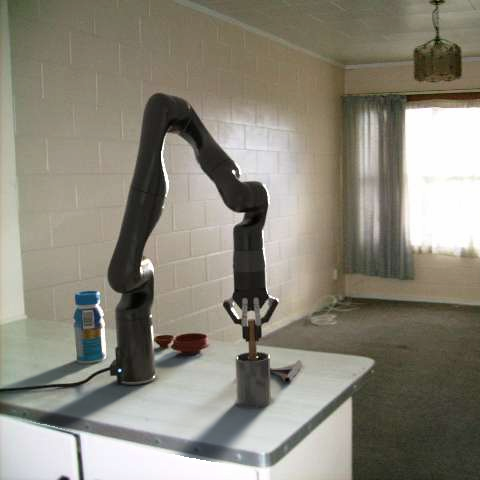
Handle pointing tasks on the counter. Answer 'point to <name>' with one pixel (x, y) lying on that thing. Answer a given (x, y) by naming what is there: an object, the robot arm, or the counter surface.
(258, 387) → the grey metal cup
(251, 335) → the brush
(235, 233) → the robot arm
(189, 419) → the counter surface
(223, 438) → the counter surface
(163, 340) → the pottery
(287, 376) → the bracket
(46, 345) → the counter surface
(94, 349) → the beverage bottle
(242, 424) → the counter surface
